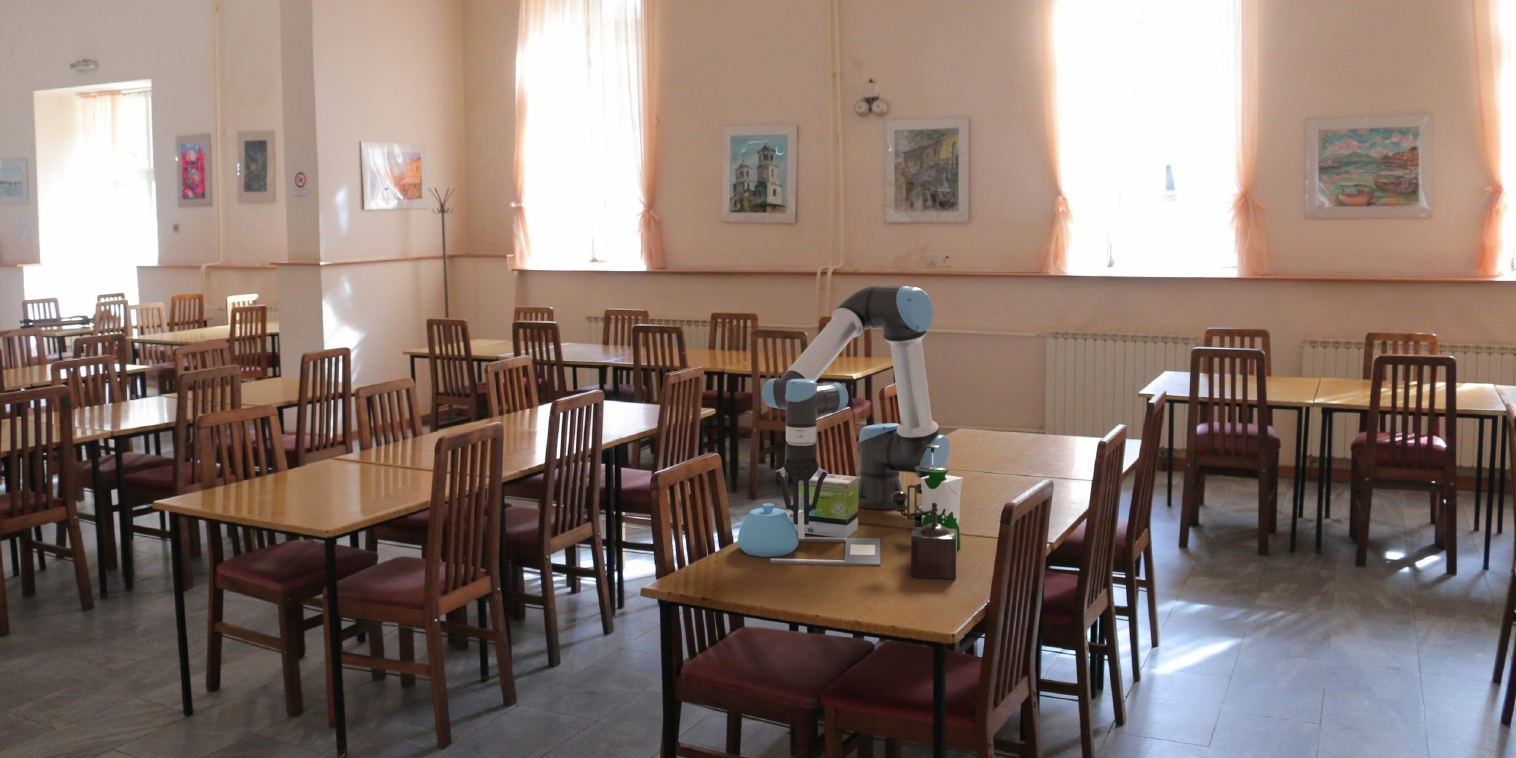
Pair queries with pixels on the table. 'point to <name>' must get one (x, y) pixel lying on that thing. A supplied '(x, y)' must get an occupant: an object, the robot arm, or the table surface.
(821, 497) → the tea box
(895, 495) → the brown manual coffee grinder
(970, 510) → the table surface
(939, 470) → the milk carton
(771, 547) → the sugar bowl
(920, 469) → the french press
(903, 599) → the table surface
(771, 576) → the table surface
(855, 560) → the label board
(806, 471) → the robot arm
